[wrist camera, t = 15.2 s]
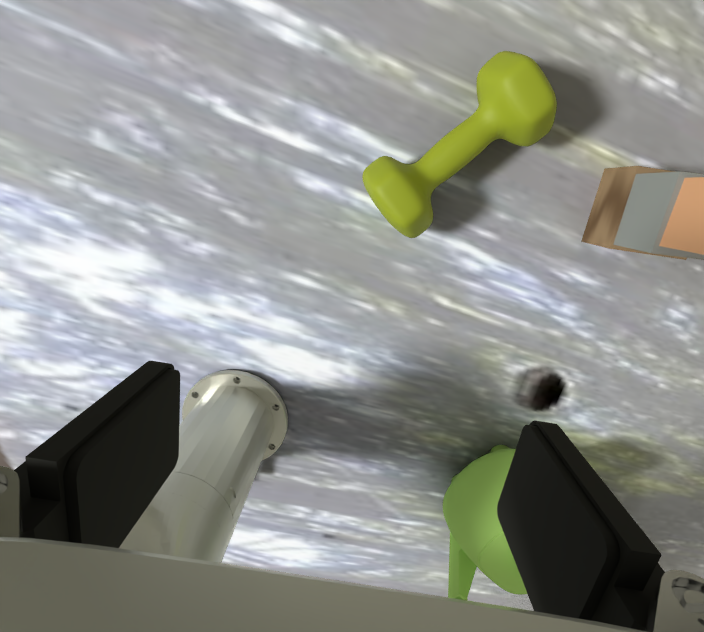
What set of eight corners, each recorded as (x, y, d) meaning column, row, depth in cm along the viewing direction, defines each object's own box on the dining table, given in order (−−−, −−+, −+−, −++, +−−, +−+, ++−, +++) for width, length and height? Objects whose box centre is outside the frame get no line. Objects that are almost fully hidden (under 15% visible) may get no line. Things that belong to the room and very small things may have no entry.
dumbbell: (497, 56, 36) (527, 24, 29) (543, 131, 37) (582, 118, 30) (355, 177, 39) (351, 174, 32) (403, 240, 41) (409, 251, 34)
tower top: (679, 252, 35) (728, 262, 31) (613, 244, 35) (651, 253, 31) (706, 182, 33) (762, 181, 29) (635, 173, 33) (680, 171, 29)
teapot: (468, 554, 53) (496, 660, 41) (400, 495, 51) (409, 590, 39) (594, 470, 48) (669, 562, 36) (526, 400, 46) (582, 475, 34)
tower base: (648, 251, 40) (685, 259, 35) (580, 241, 40) (609, 248, 35) (675, 179, 38) (719, 178, 33) (604, 168, 38) (637, 165, 33)
